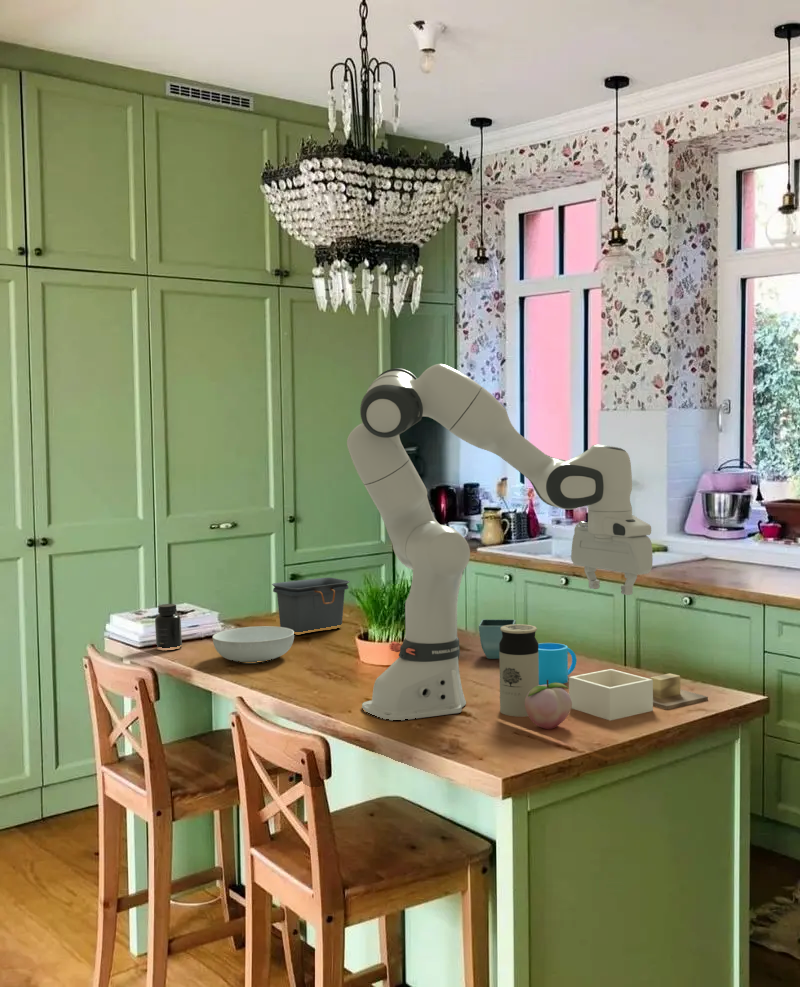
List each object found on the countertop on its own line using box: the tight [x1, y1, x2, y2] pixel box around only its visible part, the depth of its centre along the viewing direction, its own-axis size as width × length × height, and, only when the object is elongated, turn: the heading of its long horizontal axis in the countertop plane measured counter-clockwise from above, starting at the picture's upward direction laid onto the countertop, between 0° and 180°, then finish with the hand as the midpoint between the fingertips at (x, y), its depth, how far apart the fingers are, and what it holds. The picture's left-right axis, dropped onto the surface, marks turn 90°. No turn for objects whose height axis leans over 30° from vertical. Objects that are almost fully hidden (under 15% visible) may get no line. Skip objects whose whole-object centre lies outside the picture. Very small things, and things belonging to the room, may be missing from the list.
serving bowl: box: [212, 625, 295, 663], centre depth 277 cm, size 21×21×7 cm
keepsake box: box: [568, 668, 654, 721], centre depth 222 cm, size 12×12×7 cm
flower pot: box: [478, 618, 516, 660], centre depth 274 cm, size 9×9×9 cm
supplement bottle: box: [154, 603, 183, 648], centre depth 291 cm, size 7×7×12 cm
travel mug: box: [498, 623, 539, 718], centre depth 221 cm, size 8×8×18 cm
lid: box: [649, 672, 709, 711], centre depth 229 cm, size 12×12×5 cm
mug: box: [538, 642, 578, 685], centre depth 249 cm, size 12×8×8 cm
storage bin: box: [271, 577, 350, 632], centre depth 312 cm, size 21×16×14 cm
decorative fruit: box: [525, 680, 572, 730], centre depth 210 cm, size 9×8×10 cm
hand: (610, 591), depth 220 cm, fingers open, 8 cm apart
